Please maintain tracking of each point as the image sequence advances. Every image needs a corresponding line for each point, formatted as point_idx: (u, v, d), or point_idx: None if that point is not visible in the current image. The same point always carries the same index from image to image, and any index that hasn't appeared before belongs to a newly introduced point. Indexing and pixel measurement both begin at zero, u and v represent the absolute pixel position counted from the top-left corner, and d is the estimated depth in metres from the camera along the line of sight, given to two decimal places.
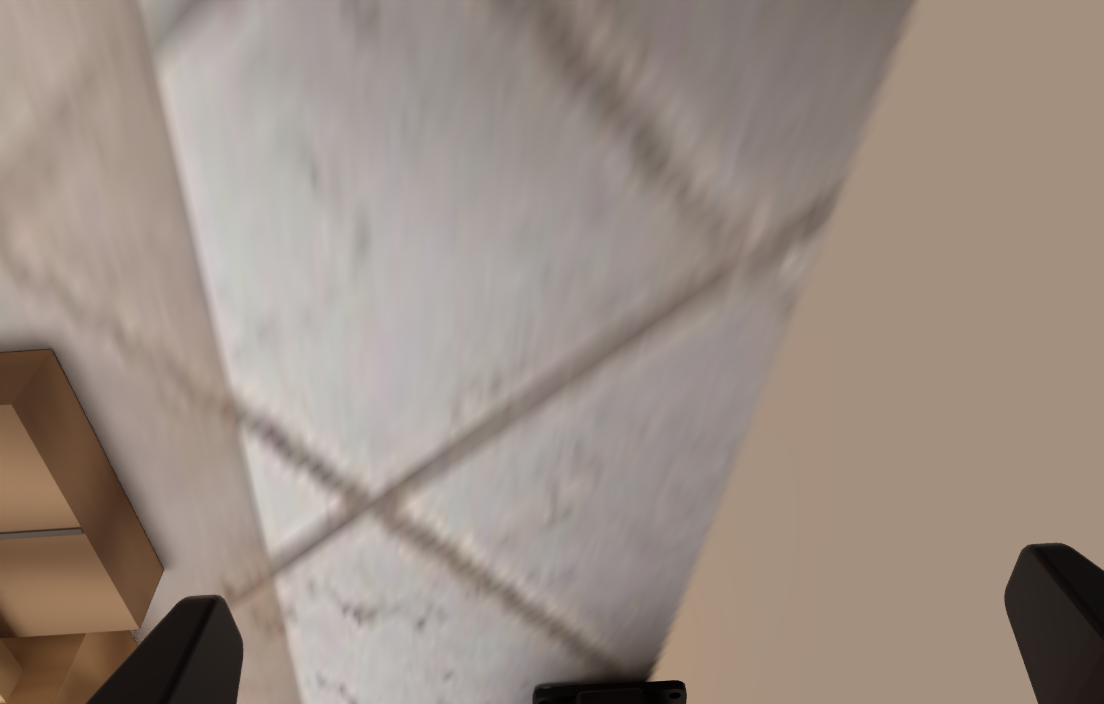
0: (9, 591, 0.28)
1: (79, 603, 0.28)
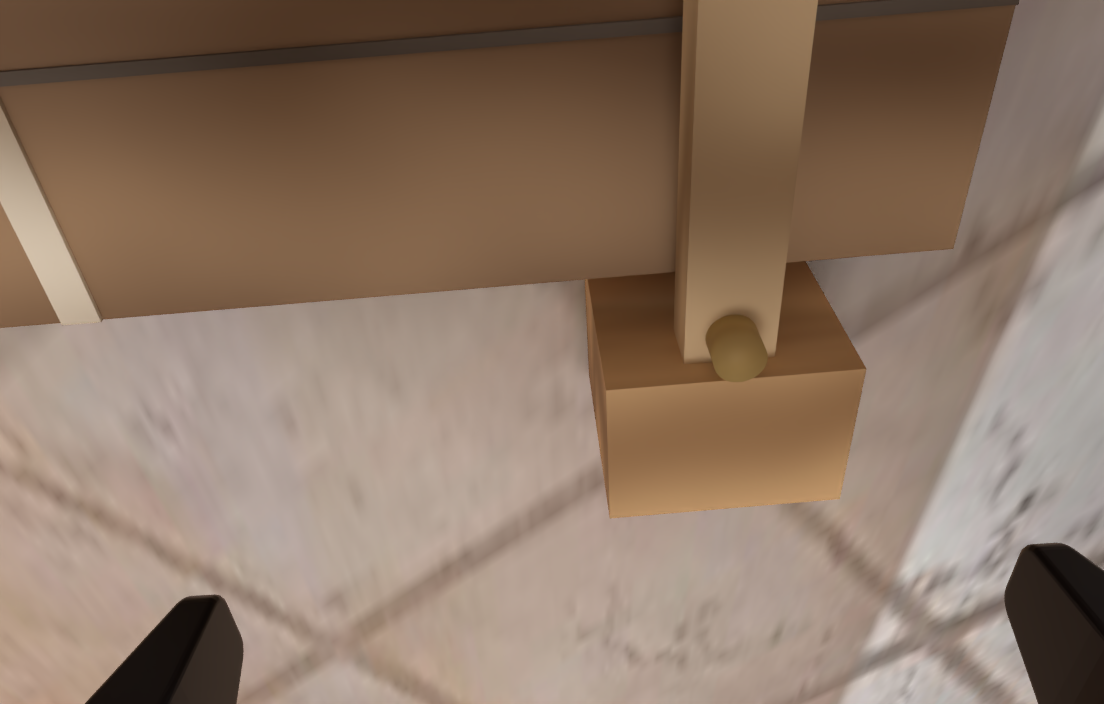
0: (803, 154, 0.16)
1: (897, 185, 0.17)
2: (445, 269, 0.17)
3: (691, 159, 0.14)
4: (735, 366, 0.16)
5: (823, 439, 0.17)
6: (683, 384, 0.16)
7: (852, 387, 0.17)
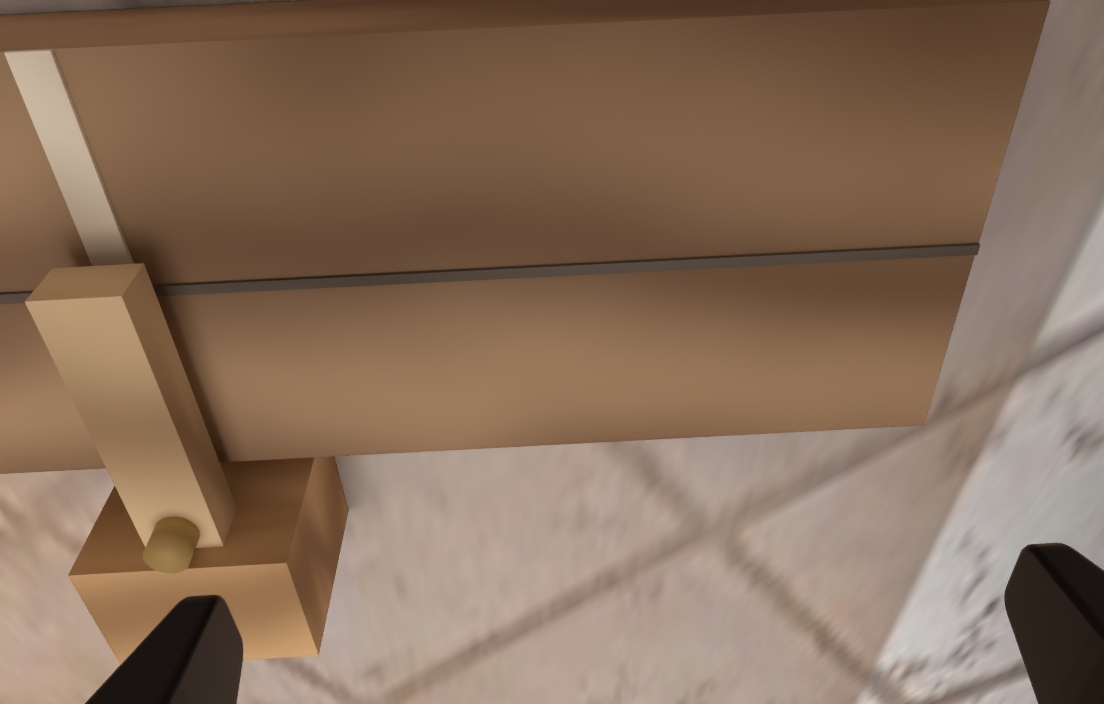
0: (800, 355, 0.20)
1: (877, 378, 0.20)
2: (498, 431, 0.21)
3: (80, 410, 0.18)
4: (163, 562, 0.19)
5: (278, 612, 0.21)
6: (133, 572, 0.20)
7: (282, 576, 0.20)
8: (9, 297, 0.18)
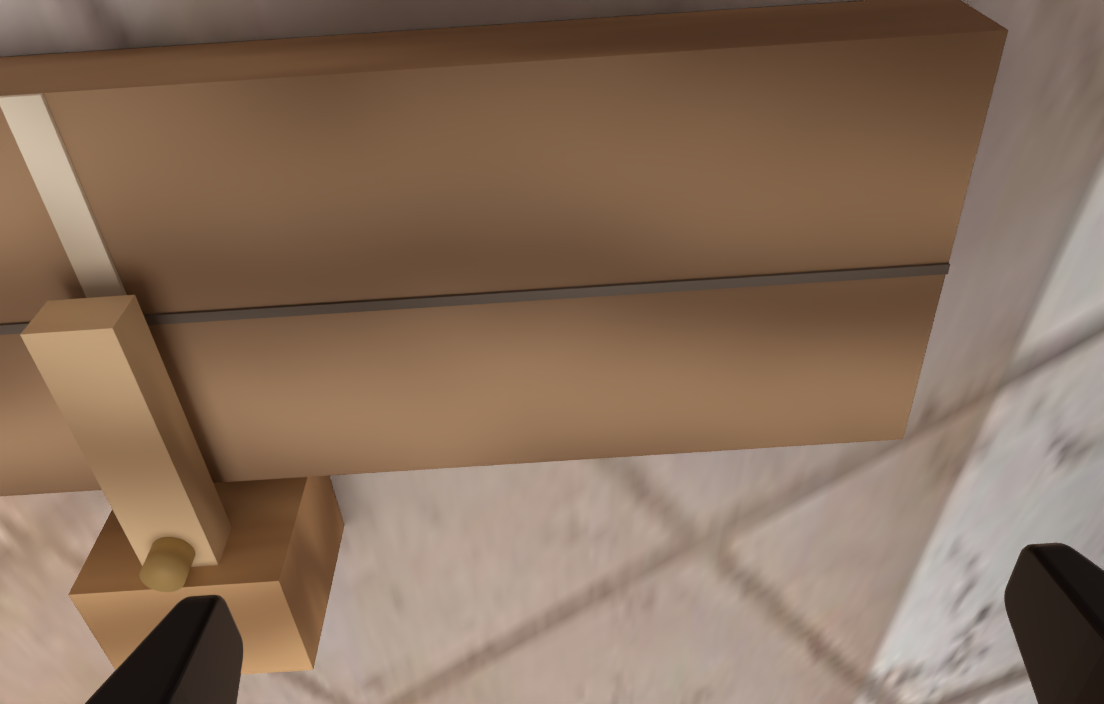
0: (777, 372, 0.20)
1: (855, 394, 0.20)
2: (485, 450, 0.21)
3: (76, 436, 0.18)
4: (159, 581, 0.20)
5: (272, 628, 0.21)
6: (131, 591, 0.20)
7: (275, 593, 0.20)
8: (7, 328, 0.18)
